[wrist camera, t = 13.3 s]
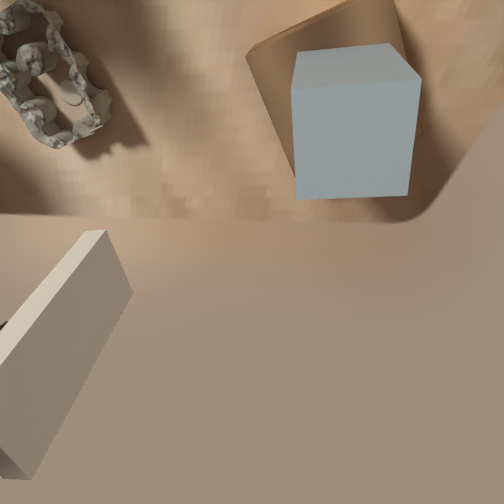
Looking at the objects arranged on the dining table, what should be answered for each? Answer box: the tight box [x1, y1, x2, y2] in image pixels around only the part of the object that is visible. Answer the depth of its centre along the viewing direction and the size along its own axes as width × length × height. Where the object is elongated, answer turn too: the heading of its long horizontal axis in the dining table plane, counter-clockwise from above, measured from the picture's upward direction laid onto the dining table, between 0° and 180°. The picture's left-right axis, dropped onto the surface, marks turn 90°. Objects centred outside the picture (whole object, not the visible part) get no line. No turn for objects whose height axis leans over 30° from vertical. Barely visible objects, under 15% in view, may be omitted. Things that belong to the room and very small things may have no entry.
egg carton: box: [0, 0, 113, 149], centre depth 34 cm, size 11×8×4 cm
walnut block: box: [245, 0, 423, 176], centre depth 31 cm, size 10×10×5 cm
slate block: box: [291, 43, 422, 200], centre depth 25 cm, size 6×6×10 cm
